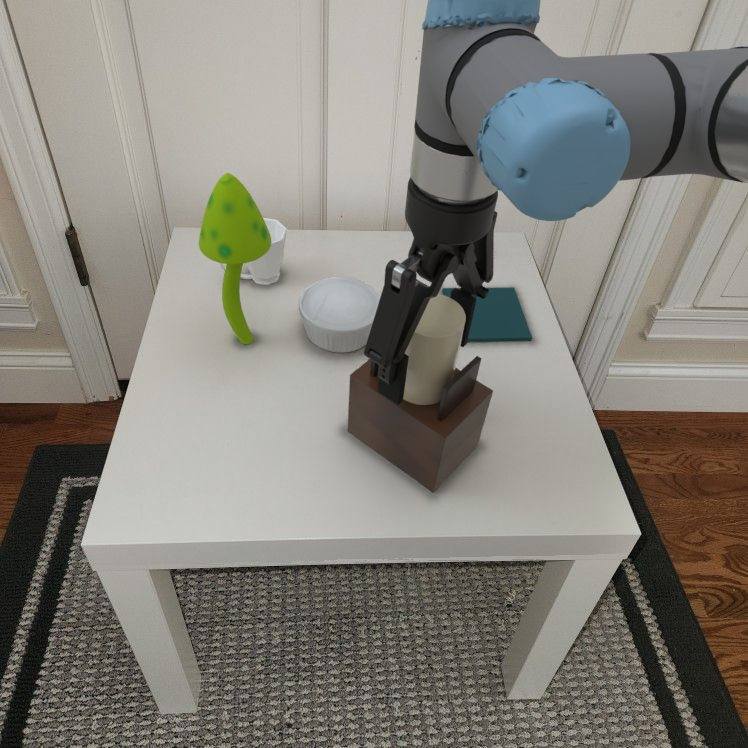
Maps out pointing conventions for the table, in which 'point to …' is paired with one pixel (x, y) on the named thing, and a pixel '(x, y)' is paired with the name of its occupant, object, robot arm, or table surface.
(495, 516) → the table surface
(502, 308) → the mat
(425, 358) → the cream cylinder
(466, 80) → the robot arm
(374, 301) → the ramekin
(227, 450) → the table surface
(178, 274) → the table surface
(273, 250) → the cup
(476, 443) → the holder
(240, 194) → the mushroom
